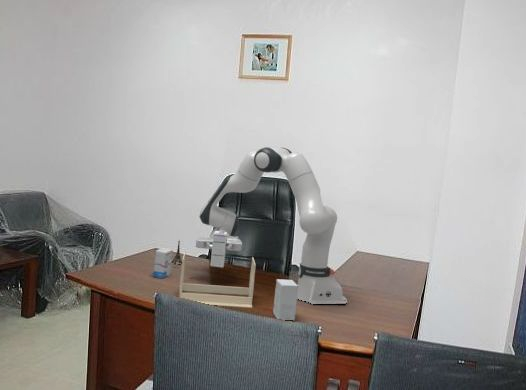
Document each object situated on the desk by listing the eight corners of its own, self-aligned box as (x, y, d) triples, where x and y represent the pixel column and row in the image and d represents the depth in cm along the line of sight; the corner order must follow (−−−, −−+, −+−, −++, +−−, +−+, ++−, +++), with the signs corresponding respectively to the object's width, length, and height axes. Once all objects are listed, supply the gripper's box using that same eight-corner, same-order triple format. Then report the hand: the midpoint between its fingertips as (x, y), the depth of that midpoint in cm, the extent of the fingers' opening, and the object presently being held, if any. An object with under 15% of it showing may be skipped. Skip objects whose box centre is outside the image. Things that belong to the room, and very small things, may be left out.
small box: (294, 321, 169) (298, 285, 168) (277, 320, 168) (281, 285, 166) (288, 313, 177) (292, 279, 176) (272, 312, 175) (276, 278, 174)
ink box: (163, 278, 205) (165, 252, 204) (152, 277, 206) (154, 250, 205) (171, 274, 213) (173, 248, 212) (160, 272, 214) (162, 247, 213)
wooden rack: (249, 292, 197) (252, 255, 196) (252, 308, 178) (256, 266, 177) (181, 288, 194) (185, 250, 193) (178, 303, 176) (181, 261, 174)
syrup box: (223, 267, 199) (227, 234, 198) (209, 266, 199) (213, 232, 198) (224, 264, 205) (228, 231, 204) (210, 263, 205) (214, 230, 203)
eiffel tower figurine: (173, 260, 242) (175, 234, 241) (192, 263, 239) (194, 237, 238) (160, 266, 228) (162, 239, 226) (179, 269, 225) (181, 242, 224)
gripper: (196, 232, 212) (195, 238, 199) (241, 236, 214) (243, 242, 201) (195, 246, 213) (193, 253, 199) (240, 250, 215) (241, 257, 201)
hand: (219, 248), depth 200 cm, fingers closed on syrup box, 6 cm apart
